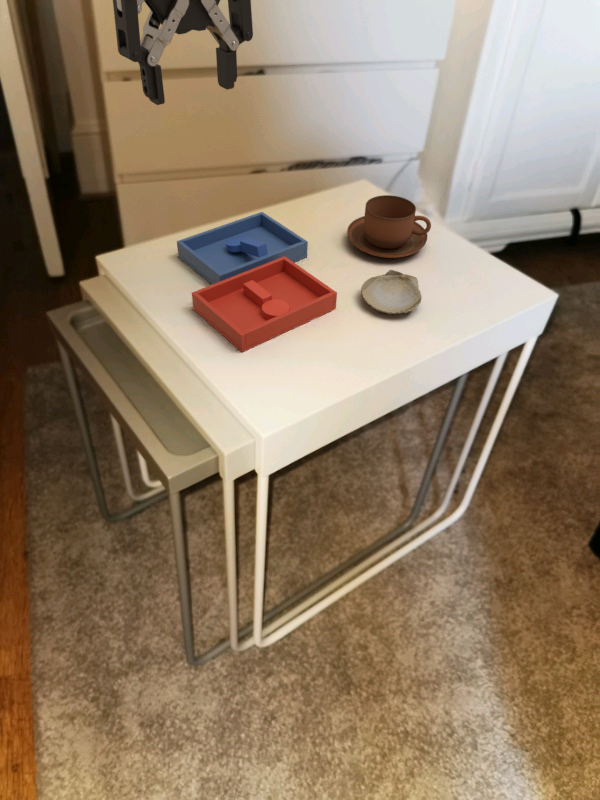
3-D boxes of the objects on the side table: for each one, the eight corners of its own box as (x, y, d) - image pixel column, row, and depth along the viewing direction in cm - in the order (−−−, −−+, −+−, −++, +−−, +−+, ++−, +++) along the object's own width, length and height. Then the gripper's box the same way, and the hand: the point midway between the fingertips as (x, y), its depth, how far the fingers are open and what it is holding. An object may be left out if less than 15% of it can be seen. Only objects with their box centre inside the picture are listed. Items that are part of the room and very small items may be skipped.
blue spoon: (222, 249, 94) (220, 238, 93) (242, 241, 96) (241, 231, 95) (253, 260, 88) (251, 248, 87) (273, 252, 90) (272, 241, 89)
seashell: (354, 316, 87) (406, 327, 82) (349, 298, 85) (402, 308, 80) (385, 281, 91) (435, 289, 86) (381, 263, 88) (433, 270, 84)
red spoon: (295, 315, 82) (295, 305, 81) (272, 325, 81) (272, 315, 80) (258, 287, 87) (258, 277, 86) (237, 296, 85) (236, 286, 84)
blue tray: (220, 292, 87) (219, 275, 85) (178, 257, 93) (176, 241, 91) (307, 257, 94) (308, 241, 92) (262, 226, 100) (262, 211, 98)
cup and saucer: (414, 223, 102) (420, 186, 98) (434, 263, 94) (442, 225, 89) (340, 226, 101) (343, 189, 97) (354, 267, 92) (357, 228, 88)
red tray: (241, 352, 78) (241, 335, 76) (193, 309, 84) (191, 292, 82) (336, 308, 85) (337, 292, 83) (284, 271, 91) (284, 255, 89)
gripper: (123, -89, 51) (150, 120, 62) (266, -98, 58) (267, 92, 69) (82, -100, 55) (114, 97, 66) (220, -107, 62) (228, 73, 73)
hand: (192, 94), depth 68 cm, fingers open, 8 cm apart
